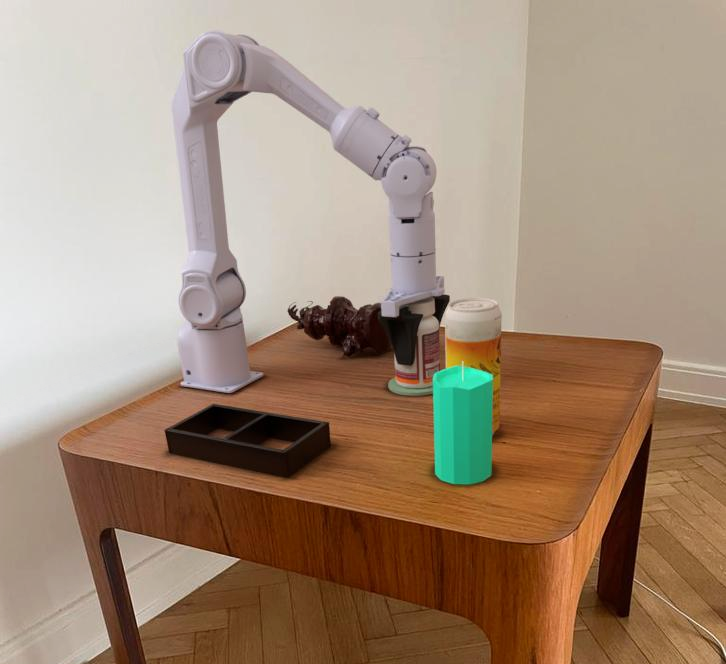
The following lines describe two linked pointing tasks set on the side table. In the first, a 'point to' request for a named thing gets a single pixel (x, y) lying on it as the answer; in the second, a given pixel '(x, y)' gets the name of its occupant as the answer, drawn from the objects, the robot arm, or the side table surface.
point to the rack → (249, 439)
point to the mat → (408, 389)
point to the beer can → (476, 341)
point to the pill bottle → (422, 349)
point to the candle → (463, 424)
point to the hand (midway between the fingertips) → (416, 356)
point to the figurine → (344, 325)
